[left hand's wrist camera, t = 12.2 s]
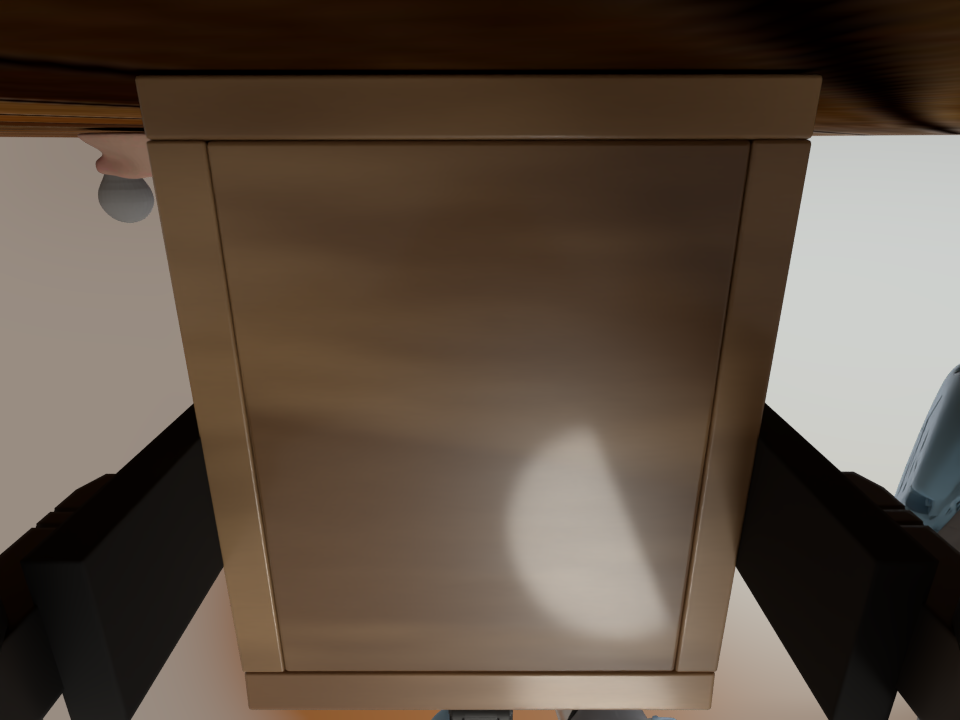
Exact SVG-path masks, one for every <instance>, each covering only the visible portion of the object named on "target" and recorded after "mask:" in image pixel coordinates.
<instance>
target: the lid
mask: <svg viewBox="0 0 960 720" xmlns="http://www.w3.org/2000/svg"><path fill="white" fill-rule="evenodd" d="M714 676H715V673H714V672H678V671H676V670H675V668H674V670H672V671H287V670H286V669H285V670H284V671H283V672H245V679H246V688H247V696H248V705H249V709H252V710H709V709H710V708H711V702H712V694H713V685H714Z"/></svg>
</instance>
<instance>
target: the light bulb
mask: <svg viewBox="0 0 960 720" xmlns="http://www.w3.org/2000/svg"><path fill="white" fill-rule="evenodd" d="M98 198H99V202H100V205H101V206H102V208H103V209H104V210H105V212H106V213H107V214H108V215H110V216H111V217H112V218H114V219H116V220H118V221H121V222H127V223H133V222H138V221H141V220H143V219H145V218H146V217H147V216H148V215H149V213H150V212H151V210H152V208H153V205H154V197H153V193H152V191H151V189H150V187H149V186H148V185H147V183H146V182H145V181H144V180H143V178H139V179H129V178H123V177H119V176H115V175H107V174H104V177H103V180H102V182H101V184H100V187H99V191H98Z"/></svg>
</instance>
